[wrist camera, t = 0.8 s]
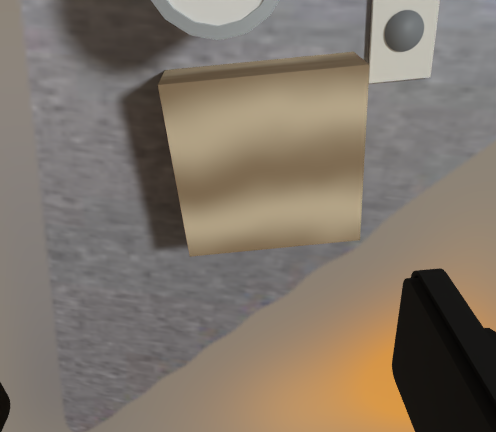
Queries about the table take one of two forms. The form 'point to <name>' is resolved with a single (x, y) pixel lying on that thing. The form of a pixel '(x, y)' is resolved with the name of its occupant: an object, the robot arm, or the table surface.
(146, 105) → the table surface
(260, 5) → the light grey cup
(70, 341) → the table surface
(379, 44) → the push button plate
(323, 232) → the maple block
